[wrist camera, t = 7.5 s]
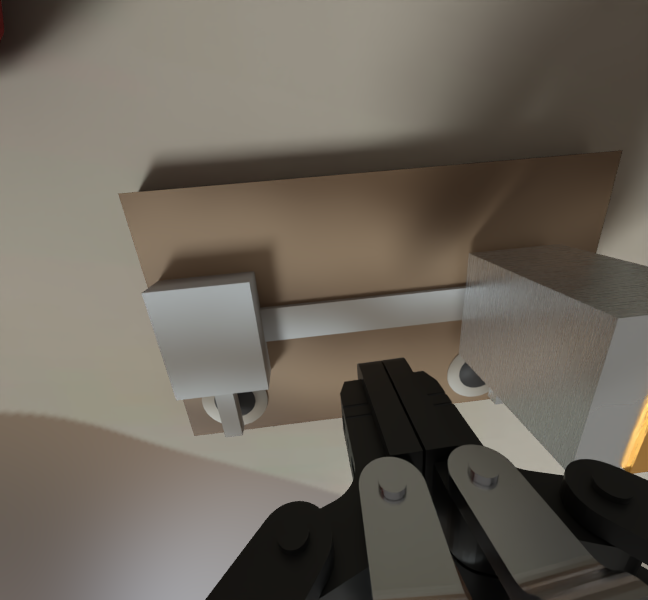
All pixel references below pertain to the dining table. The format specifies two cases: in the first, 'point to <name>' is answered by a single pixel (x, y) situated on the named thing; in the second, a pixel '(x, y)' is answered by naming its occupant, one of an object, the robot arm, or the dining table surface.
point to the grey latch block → (563, 348)
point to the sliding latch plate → (339, 276)
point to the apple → (1, 22)
